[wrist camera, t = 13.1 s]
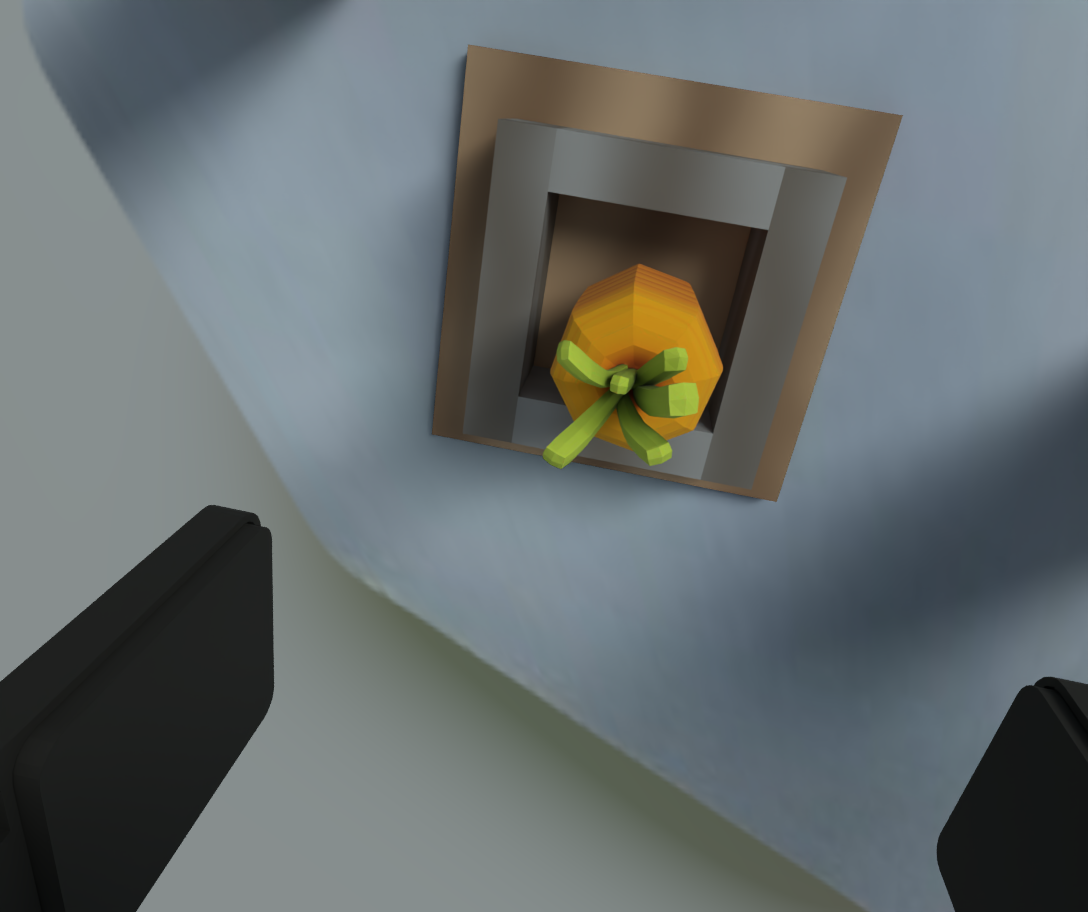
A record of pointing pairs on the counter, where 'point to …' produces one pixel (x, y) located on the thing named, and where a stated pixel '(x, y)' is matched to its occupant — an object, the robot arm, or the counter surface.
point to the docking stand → (649, 248)
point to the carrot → (634, 366)
